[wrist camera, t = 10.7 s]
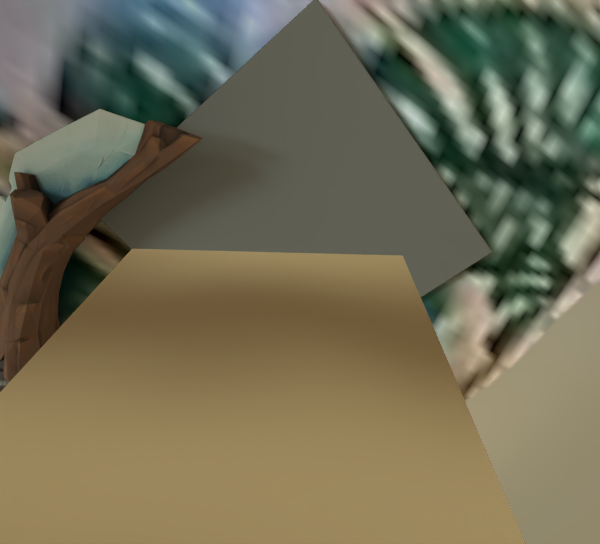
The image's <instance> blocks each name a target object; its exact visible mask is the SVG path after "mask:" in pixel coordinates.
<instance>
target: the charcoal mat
mask: <svg viewBox="0 0 600 544" xmlns="http://www.w3.org/2000/svg"><path fill="white" fill-rule="evenodd" d="M177 128H178V129H181V130H183V131H186V132H188V133H191V134H194V135H196V136H199V137H201V138H203V139H201V140H200V141H199V142H198V143H197V144H195V145H194V146H193V147H192V148H190V149H189V150H188V151H187V152H186V153H184V154H183V155H182V156H181V157H179V158H178V159H177V160H176V161H174V162H173V163H171V164H170V165H169V166H167V167H166V168H165V169H163V170H162V171H161V172H159V173H158V174H156V175H154V176H153V177H151V178H150V179H148V180H146V181H145V182H144V183H142V184H141V185H140V186H139V187H138V188H137V189H136V190H135V191H134V192H132V193H131V194H130V195H129V196H128V197H127V198H125V199H124V200H123V201H122V202H120V203H119V204H118V205H117V206H115V207H114V208H113V209H112V210H110V211H109V212H108V213H107V214H106V215H105V216H104V217H103V218H102V219H101V220H102V221H103V222H104V223H105V224H106V225H107V226H108V227H109V228H110V229H111V230H112V231H113V232H114V233H115V234H116V235H117V236H118V237H119V238H120V239H121V240H122V241H123V242H124V243H125V244H126V245H127V246H128V247H129V248H130V249H166V250H205V251H244V252H284V253H323V254H362V255H402V256H403V258H404V260H405V262H406V265H407V267H408V269H409V272H410V274H411V276H412V279H413V281H414V283H415V286H416V288H417V290H418V293H419V295H420V297H422V296H424V295H425V294H427V293H428V292H430V291H432V290H433V289H435V288H436V287H438V286H439V285H441V284H443V283H444V282H446V281H447V280H449V279H450V278H452V277H454V276H455V275H457V274H458V273H460V272H461V271H463V270H464V269H466V268H468V267H469V266H471V265H472V264H474V263H475V262H477V261H479V260H480V259H482V258H483V257H485V256H486V255H488V254H490V253H491V252H492V251H491V250H490V248H489V247H488V245H487V244H486V242H485V241H484V239H483V238H482V237H481V235H480V234H479V232H478V231H477V229H476V228H475V226H474V225H473V224H472V222H471V221H470V219H469V218H468V216H467V215H466V213H465V212H464V211H463V209H462V208H461V206H460V205H459V203H458V202H457V200H456V199H455V198H454V196H453V195H452V193H451V192H450V190H449V189H448V187H447V186H446V185H445V183H444V182H443V180H442V179H441V177H440V176H439V175H438V173H437V172H436V170H435V169H434V167H433V166H432V164H431V163H430V162H429V160H428V159H427V157H426V156H425V154H424V153H423V151H422V150H421V149H420V147H419V146H418V144H417V143H416V141H415V140H414V138H413V137H412V136H411V134H410V133H409V131H408V130H407V128H406V127H405V125H404V124H403V123H402V121H401V120H400V118H399V117H398V115H397V114H396V112H395V111H394V110H393V108H392V107H391V105H390V104H389V102H388V101H387V99H386V98H385V97H384V95H383V94H382V92H381V91H380V89H379V88H378V87H377V85H376V84H375V82H374V81H373V79H372V78H371V76H370V75H369V74H368V72H367V71H366V69H365V68H364V66H363V65H362V63H361V62H360V61H359V59H358V58H357V56H356V55H355V53H354V52H353V50H352V49H351V48H350V46H349V45H348V43H347V42H346V40H345V39H344V37H343V36H342V35H341V33H340V32H339V30H338V29H337V27H336V26H335V24H334V23H333V22H332V20H331V19H330V17H329V16H328V14H327V13H326V11H325V10H324V9H323V7H322V6H321V4H320V3H319V1H318V0H313V1H312V2H311V3H310V4H309V5H308V6H307V7H306V8H305V9H304V10H303V11H301V12H300V13H299V14H298V15H297V16H296V17H295V18H294V19H293V20H292V21H291V22H290V23H289V24H287V25H286V26H285V27H284V28H283V29H282V30H281V31H280V32H279V33H278V34H277V35H276V36H275V37H274V38H272V39H271V40H270V41H269V42H268V43H267V44H266V45H265V46H264V47H263V48H262V49H261V50H260V51H258V52H257V53H256V54H255V55H254V56H253V57H252V58H251V59H250V60H249V61H248V62H247V63H246V64H245V65H243V66H242V67H241V68H240V69H239V70H238V71H237V72H236V73H235V74H234V75H233V76H232V77H231V78H230V79H228V80H227V81H226V82H225V83H224V84H223V85H222V86H221V87H220V88H219V89H218V90H217V91H216V92H214V93H213V94H212V95H211V96H210V97H209V98H208V99H207V100H206V101H205V102H204V103H203V104H202V105H201V106H199V107H198V108H197V109H196V110H195V111H194V112H193V113H192V114H191V115H190V116H189V117H188V118H187V119H185V120H184V121H183V122H182V123H181V124H180V125H179V126H178V127H177Z"/></svg>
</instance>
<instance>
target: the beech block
mask: <svg viewBox="0 0 600 544" xmlns="http://www.w3.org/2000/svg"><path fill="white" fill-rule="evenodd" d="M0 544H526V543H525V541H524V539H523V536H522V534H521V532H520V529H519V527H518V525H517V522H516V520H515V518H514V515H513V513H512V511H511V508H510V506H509V503H508V501H507V499H506V497H505V494H504V492H503V489H502V487H501V485H500V482H499V480H498V478H497V475H496V473H495V471H494V468H493V466H492V464H491V461H490V459H489V457H488V454H487V452H486V450H485V447H484V445H483V443H482V440H481V438H480V436H479V434H478V431H477V429H476V426H475V424H474V422H473V419H472V417H471V414H470V412H469V410H468V408H467V405H466V403H465V400H464V398H463V396H462V393H461V391H460V389H459V386H458V384H457V382H456V379H455V377H454V375H453V372H452V370H451V368H450V365H449V363H448V361H447V358H446V356H445V354H444V351H443V349H442V347H441V344H440V342H439V340H438V337H437V335H436V332H435V330H434V328H433V325H432V323H431V321H430V318H429V316H428V314H427V311H426V309H425V307H424V304H423V302H422V300H421V297H420V295H419V293H418V290H417V288H416V286H415V283H414V281H413V279H412V276H411V274H410V272H409V269H408V267H407V265H406V262H405V260H404V258H403V256H402V255H362V254H323V253H284V252H244V251H205V250H166V249H131V250H130V252H129V253H128V254H127V255H126V256H125V257H124V258H123V259H122V260H121V261H120V262H119V264H118V265H117V266H116V267H115V268H114V269H113V270H112V271H111V272H110V273H109V274H108V275H107V277H106V278H105V279H104V280H103V281H102V282H101V283H100V284H99V285H98V286H97V287H96V289H95V290H94V291H93V292H92V293H91V294H90V295H89V296H88V297H87V298H86V299H85V301H84V302H83V303H82V304H81V305H80V306H79V307H78V308H77V309H76V310H75V311H74V313H73V314H72V315H71V316H70V317H69V318H68V319H67V320H66V321H65V322H64V323H63V324H62V326H61V327H60V328H59V329H58V330H57V331H56V332H55V333H54V334H53V335H52V336H51V338H50V339H49V340H48V341H47V342H46V343H45V344H44V345H43V346H42V347H41V348H40V350H39V351H38V352H37V353H36V354H35V355H34V356H33V357H32V358H31V359H30V360H29V362H28V363H27V364H26V365H25V366H24V367H23V368H22V369H21V370H20V371H19V372H18V373H17V375H16V376H15V377H14V378H13V379H12V380H11V381H10V382H9V383H8V384H7V385H6V387H5V388H4V389H3V390H2V391H1V392H0Z"/></svg>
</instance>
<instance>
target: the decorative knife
mask: <svg viewBox="0 0 600 544" xmlns="http://www.w3.org/2000/svg"><path fill="white" fill-rule="evenodd" d="M201 139H203V138H201V137H199V136H196V135H194V134H191V133H188V132H186V131H183V130H181V129H178V128H175V127H173V126H170V125H167V124H165V123H162V122H158V121H152V120H149V121H148V122H147V123H146V124H142V123H139V122H137V121H134V120H131V119H128V118H125V117H122V116H119V115H116V114H113V113H110V112H108V111H105V110H102V109H99V110H97V111H95V112H93V113H91V114H89V115H87V116H85V117H83V118H81V119H79V120H77V121H75V122H73V123H71V124H69V125H67V126H65V127H63V128H61V129H59V130H57V131H55V132H53V133H51V134H49V135H47V136H45V137H44V138H42V139H40V140H38V141H36V142H34V143H33V144H31V145H29V146H27V147H25V148H23V149H22V150H20V151H18V152H16V153H15V155H14V159H13V163H12V166H11V170H10V174H9V182H10V184H11V186H12V188H11V190H10V193H9V195H8V197H3V196H0V392H1V391H2V390H3V389H4V388H5V387H6V385H7V384H8V383H9V382H10V381H11V380H12V379H13V378H14V377H15V376H16V375H17V373H18V372H19V371H20V370H21V369H22V368H23V367H24V366H25V365H26V364H27V363H28V362H29V360H30V359H31V358H32V357H33V356H34V355H35V354H36V353H37V352H38V351H39V350H40V348H41V347H42V346H43V345H44V344H45V343H46V342H47V341H48V340H49V339H50V338H51V336H52V335H53V334H54V333H55V332H56V331H57V330H58V329H59V328H60V327H61V326H60V323H59V318H58V304H59V290H60V286H61V282H62V278H63V273H64V270H65V268H66V266H67V263H68V261H69V259H70V257H71V254H72V252H73V251H74V250H75V249H76V248H77V247H78V246H79V244H80V243H81V242H82V241H83V240H84V238H85V237H86V236H87V234H88V233H89V232H90V231H91V230H92V229H93V228H94V227H95V226H96V225H97V224H98V222H99V221H100V220H101V219H102V218H103V217H104V216H105V215H106V214H107V213H108V212H109V211H110V210H112V209H113V208H114V207H115V206H117V205H118V204H119V203H120V202H122V201H123V200H124V199H125V198H127V197H128V196H129V195H130V194H131V193H132V192H134V191H135V190H136V189H137V188H138V187H139V186H140V185H141V184H142V183H144V182H145V181H146V180H148V179H150V178H151V177H153V176H154V175H156V174H158V173H159V172H161V171H162V170H163V169H165V168H166V167H167V166H169V165H170V164H171V163H173V162H174V161H176V160H177V159H178V158H179V157H181V156H182V155H183V154H184V153H186V152H187V151H188V150H189V149H190V148H192V147H193V146H194V145H195V144H197V143H198V142H199V141H200V140H201Z"/></svg>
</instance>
